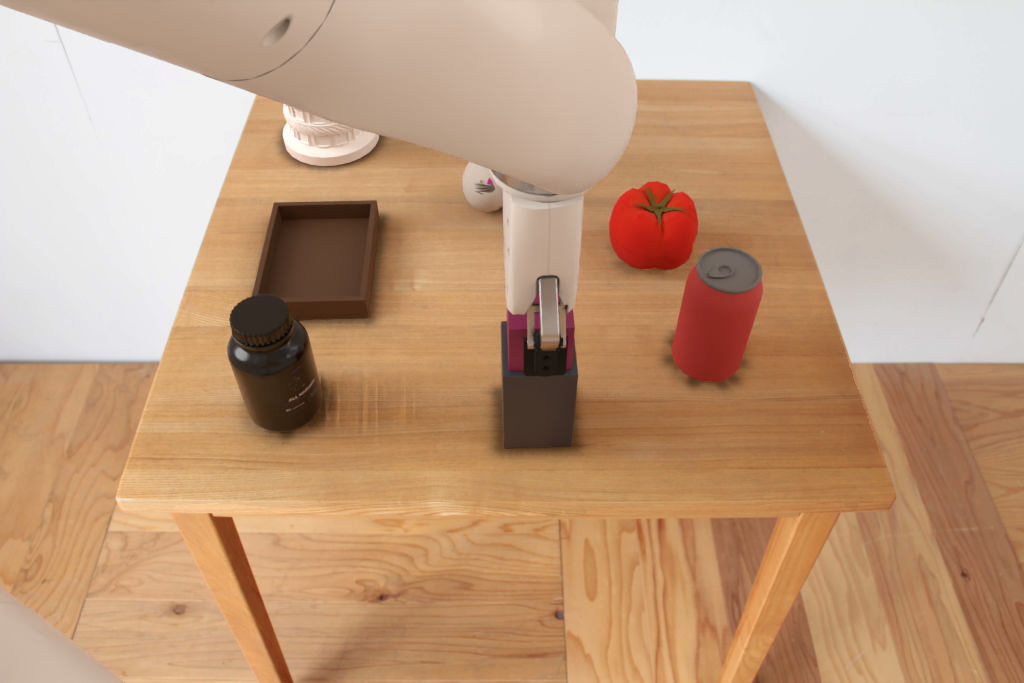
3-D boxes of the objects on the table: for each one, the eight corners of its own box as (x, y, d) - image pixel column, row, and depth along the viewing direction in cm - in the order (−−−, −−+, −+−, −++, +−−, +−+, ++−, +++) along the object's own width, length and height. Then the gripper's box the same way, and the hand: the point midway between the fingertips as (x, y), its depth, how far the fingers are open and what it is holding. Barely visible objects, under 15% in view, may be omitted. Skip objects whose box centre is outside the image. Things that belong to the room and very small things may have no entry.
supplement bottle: (318, 436, 76) (291, 347, 66) (241, 434, 76) (204, 346, 67) (330, 375, 80) (307, 285, 71) (258, 374, 80) (226, 283, 71)
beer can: (657, 345, 83) (675, 253, 74) (716, 325, 84) (740, 233, 75) (693, 394, 79) (717, 304, 70) (753, 373, 80) (784, 282, 71)
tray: (368, 318, 85) (365, 300, 83) (255, 320, 85) (249, 302, 83) (379, 218, 95) (376, 200, 93) (278, 220, 95) (273, 202, 93)
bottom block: (571, 446, 75) (578, 374, 67) (503, 448, 75) (502, 376, 67) (566, 392, 79) (572, 319, 71) (501, 394, 79) (500, 320, 71)
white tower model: (295, 109, 109) (264, -30, 95) (385, 111, 109) (367, -28, 95) (275, 165, 101) (238, 22, 88) (372, 167, 101) (350, 24, 87)
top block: (571, 370, 68) (575, 327, 64) (508, 371, 67) (508, 329, 64) (566, 323, 71) (570, 280, 67) (506, 325, 71) (506, 282, 67)
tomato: (592, 243, 92) (597, 188, 87) (659, 217, 95) (668, 162, 89) (642, 297, 87) (651, 242, 81) (711, 267, 90) (725, 212, 84)
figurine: (508, 233, 93) (508, 184, 88) (455, 225, 94) (452, 176, 89) (524, 188, 98) (525, 139, 93) (474, 181, 99) (472, 132, 94)
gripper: (485, 73, 60) (491, 251, 73) (489, 240, 49) (495, 415, 62) (592, 71, 60) (579, 248, 73) (620, 236, 49) (598, 412, 62)
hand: (540, 324), depth 68 cm, fingers open, 9 cm apart
